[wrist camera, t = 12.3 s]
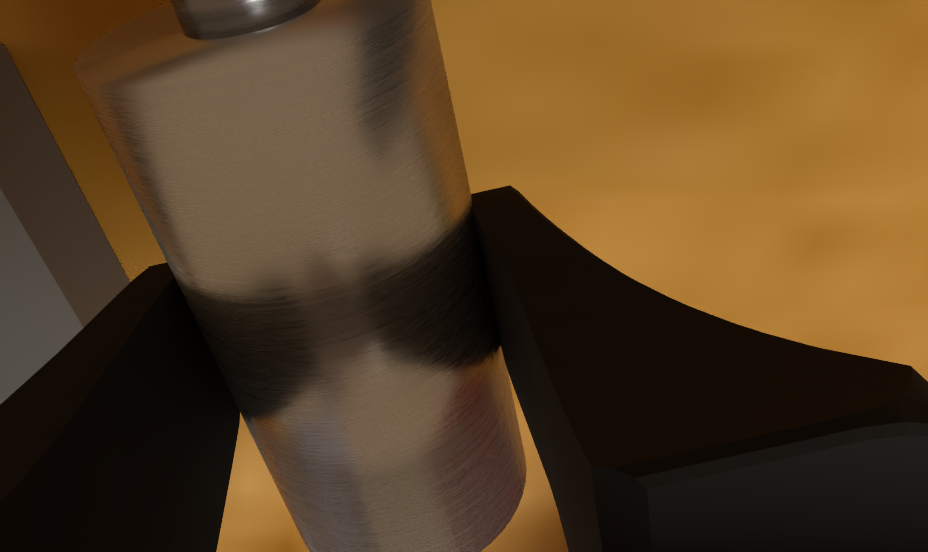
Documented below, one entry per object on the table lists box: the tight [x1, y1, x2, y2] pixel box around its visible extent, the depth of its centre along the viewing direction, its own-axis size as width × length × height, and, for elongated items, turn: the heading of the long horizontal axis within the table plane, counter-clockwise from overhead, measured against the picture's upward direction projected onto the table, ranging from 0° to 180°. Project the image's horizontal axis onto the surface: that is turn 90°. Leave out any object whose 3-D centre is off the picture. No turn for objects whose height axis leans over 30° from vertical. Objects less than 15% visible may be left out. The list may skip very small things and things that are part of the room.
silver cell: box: [74, 0, 526, 552], centre depth 11 cm, size 9×4×4 cm
